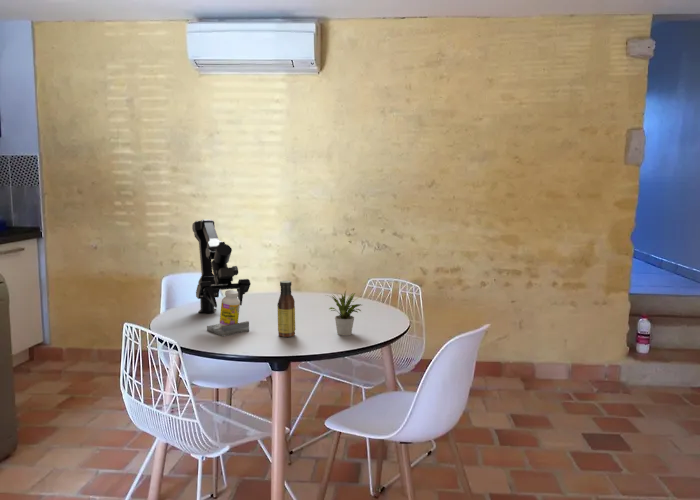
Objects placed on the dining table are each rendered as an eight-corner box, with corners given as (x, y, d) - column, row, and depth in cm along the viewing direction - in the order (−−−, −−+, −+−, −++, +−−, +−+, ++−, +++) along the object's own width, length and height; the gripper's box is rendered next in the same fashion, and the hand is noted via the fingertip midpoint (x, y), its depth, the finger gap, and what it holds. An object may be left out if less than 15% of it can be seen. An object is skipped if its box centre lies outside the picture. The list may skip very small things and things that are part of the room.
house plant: (327, 340, 190) (327, 294, 188) (318, 330, 203) (318, 287, 201) (365, 338, 194) (366, 293, 192) (354, 328, 207) (355, 286, 205)
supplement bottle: (217, 326, 198) (220, 292, 195) (221, 321, 204) (224, 288, 202) (235, 329, 198) (238, 295, 196) (239, 323, 204) (242, 290, 202)
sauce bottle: (286, 332, 200) (287, 279, 198) (298, 335, 196) (299, 281, 194) (273, 335, 195) (273, 281, 193) (285, 339, 191) (286, 283, 189)
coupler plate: (207, 330, 201) (206, 320, 200) (232, 325, 208) (232, 316, 208) (223, 336, 193) (223, 326, 193) (249, 330, 201) (249, 321, 200)
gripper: (199, 260, 197) (206, 295, 188) (249, 257, 206) (258, 291, 197) (194, 278, 205) (201, 312, 196) (243, 275, 213) (251, 308, 205)
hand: (228, 305), depth 198 cm, fingers open, 9 cm apart
